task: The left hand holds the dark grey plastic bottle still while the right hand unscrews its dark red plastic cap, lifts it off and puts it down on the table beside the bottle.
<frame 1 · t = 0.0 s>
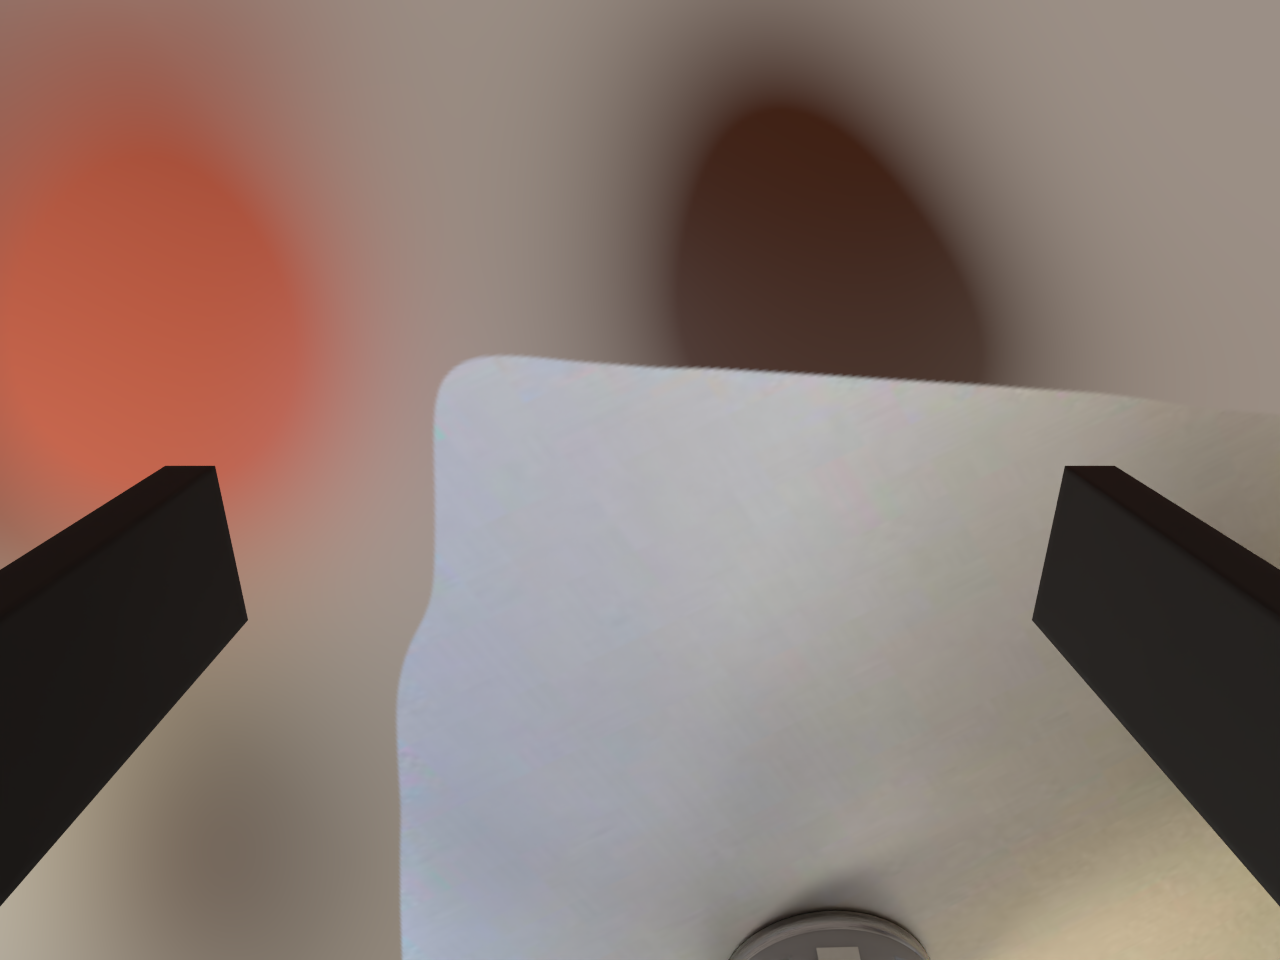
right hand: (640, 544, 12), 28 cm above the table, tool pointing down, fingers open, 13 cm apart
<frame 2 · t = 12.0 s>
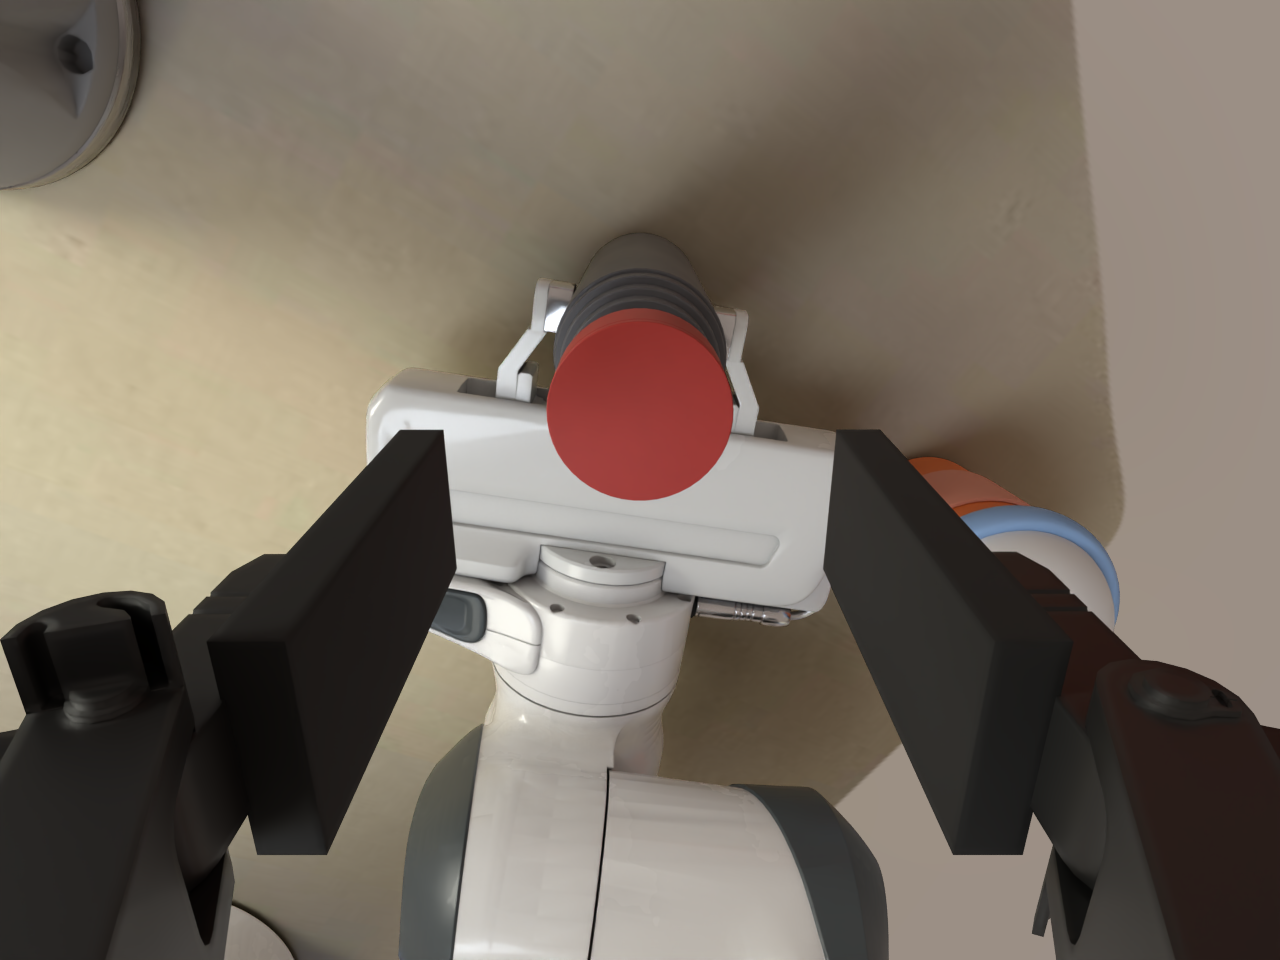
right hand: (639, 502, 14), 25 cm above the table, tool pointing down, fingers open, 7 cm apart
left hand: (642, 295, 31), fingers closed on bottle, 5 cm apart
bottle: (640, 292, 37), on the table, touching left hand
cup with straw: (918, 509, 41), on the table
cap: (639, 411, 19), point 19 cm above the table, screwed on, not yet turned
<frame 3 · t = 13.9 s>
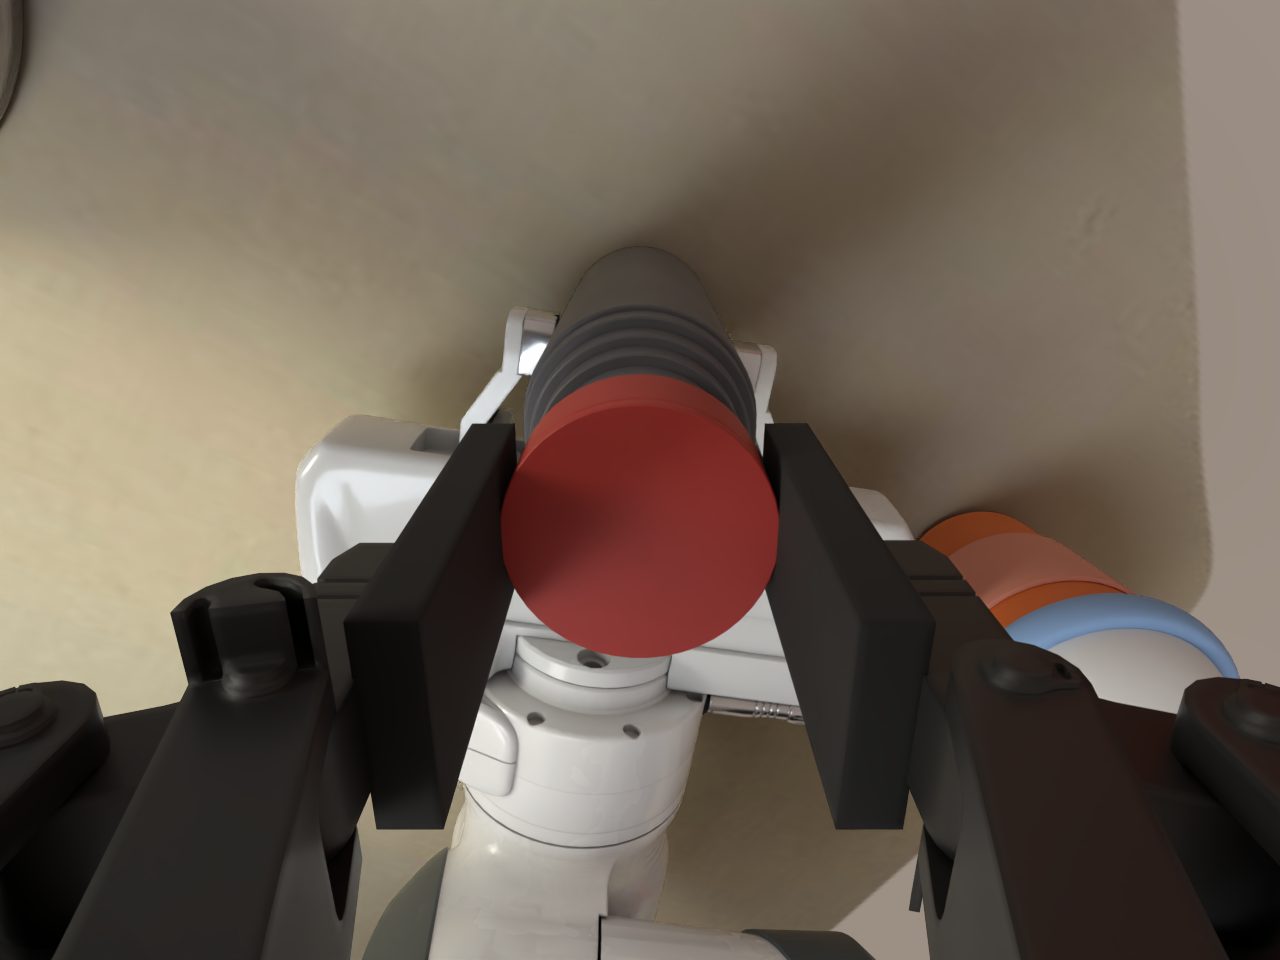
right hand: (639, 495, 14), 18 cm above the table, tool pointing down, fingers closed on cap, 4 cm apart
bottle: (640, 318, 31), on the table, touching left hand
cup with straw: (968, 570, 35), on the table
cap: (639, 531, 13), point 19 cm above the table, screwed on, not yet turned, touching right hand
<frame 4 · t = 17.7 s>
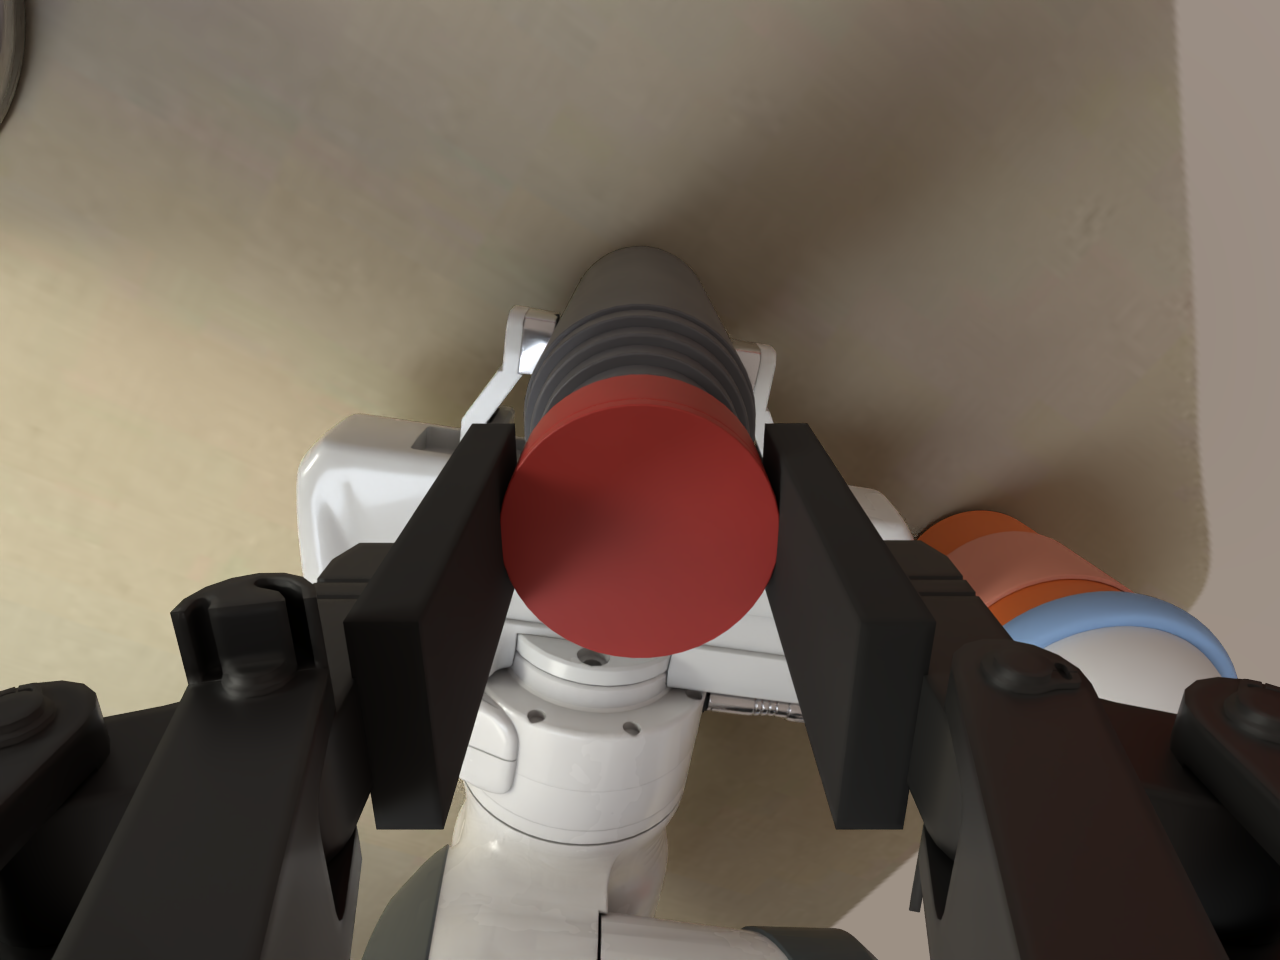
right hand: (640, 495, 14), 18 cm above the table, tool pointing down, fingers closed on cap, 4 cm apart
bottle: (639, 317, 31), on the table, touching left hand
cup with straw: (967, 569, 35), on the table
cap: (639, 531, 13), point 20 cm above the table, turned 136° so far, risen 0.1 cm, still on its thread, touching right hand
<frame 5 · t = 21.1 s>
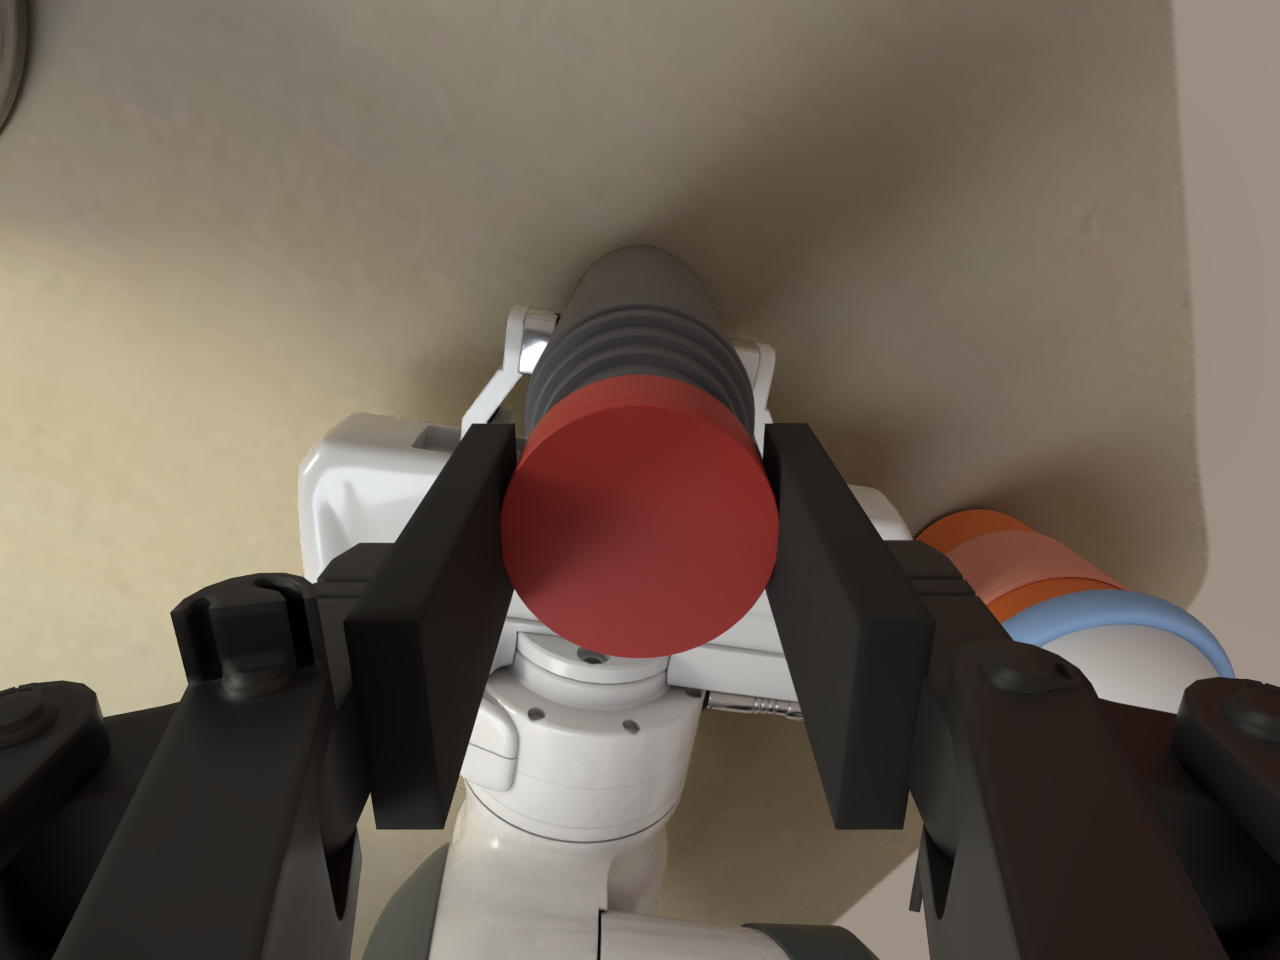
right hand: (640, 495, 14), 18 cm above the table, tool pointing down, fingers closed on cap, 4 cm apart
bottle: (639, 317, 31), on the table, touching left hand
cup with straw: (965, 568, 35), on the table
cap: (639, 532, 13), point 20 cm above the table, turned 271° so far, risen 0.2 cm, still on its thread, touching right hand
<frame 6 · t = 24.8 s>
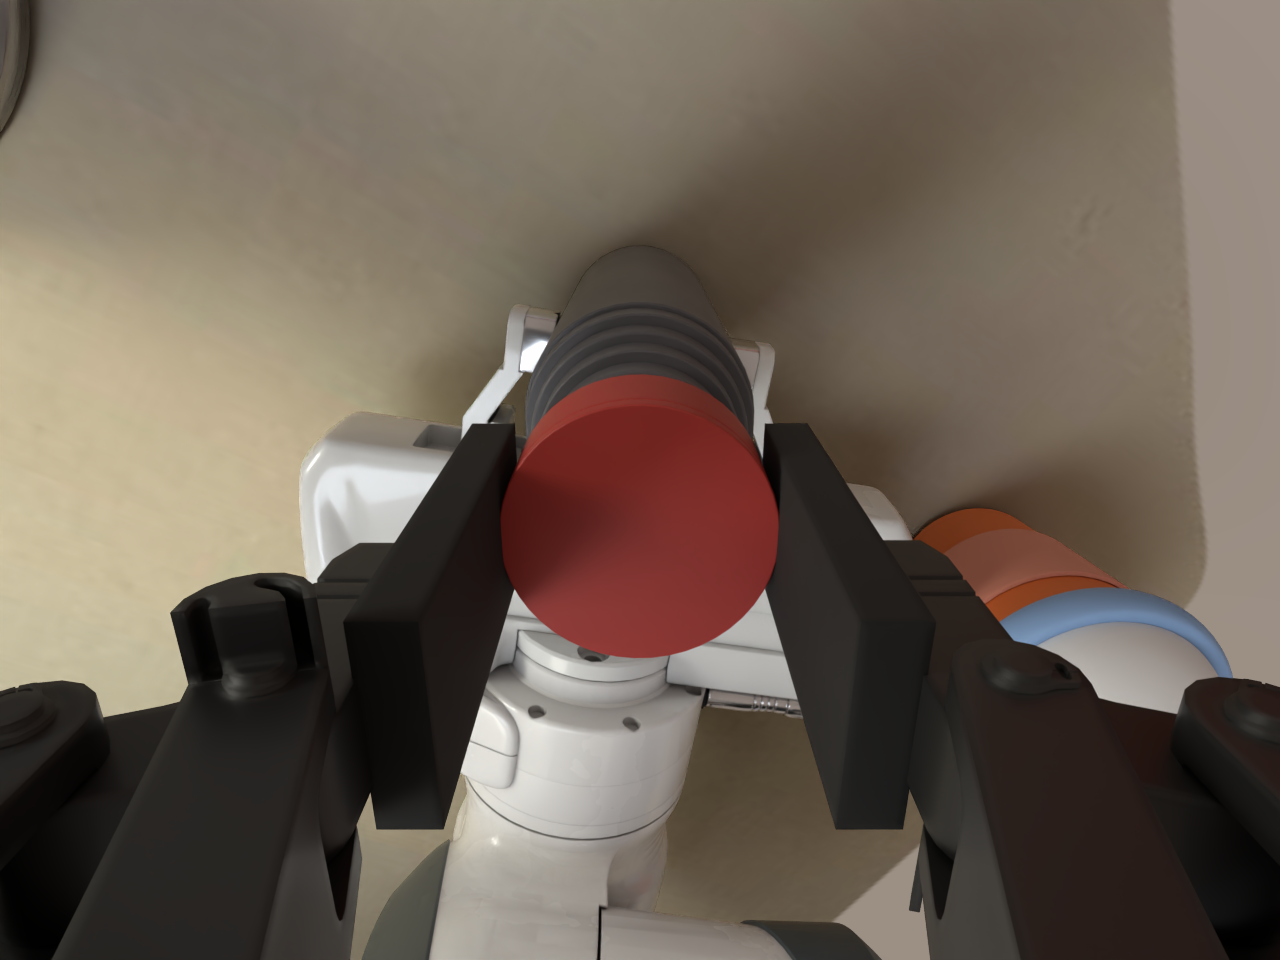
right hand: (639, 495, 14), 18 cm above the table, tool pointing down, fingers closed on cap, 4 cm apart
bottle: (639, 316, 31), on the table, touching left hand
cup with straw: (964, 567, 35), on the table
cap: (639, 532, 13), point 20 cm above the table, turned 407° so far, risen 0.3 cm, still on its thread, touching right hand
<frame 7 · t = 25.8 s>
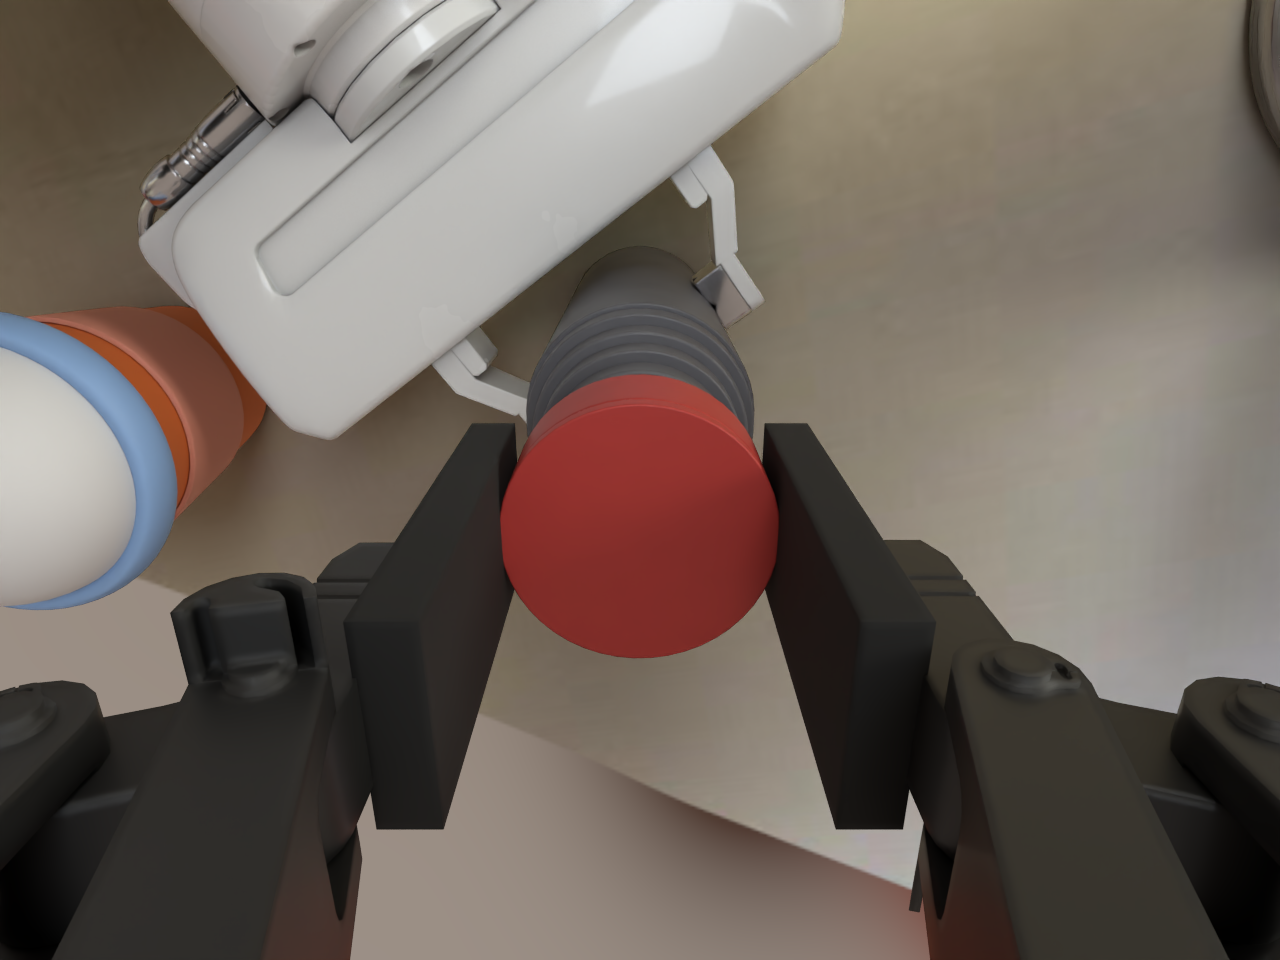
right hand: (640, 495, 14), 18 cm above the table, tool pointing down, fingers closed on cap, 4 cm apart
left hand: (657, 375, 25), fingers closed on bottle, 5 cm apart
bottle: (640, 316, 31), on the table, touching left hand
cup with straw: (195, 379, 32), on the table
cap: (639, 531, 13), point 20 cm above the table, off its thread, touching right hand
when the right hand's fingers open (1 cm above the table, at t = 31.7 s): cap stays where it is, point 2 cm above the table.
when the left hand's fingers open (7 cm above the table, at t = 33.0 s): bottle stays where it is, on the table.
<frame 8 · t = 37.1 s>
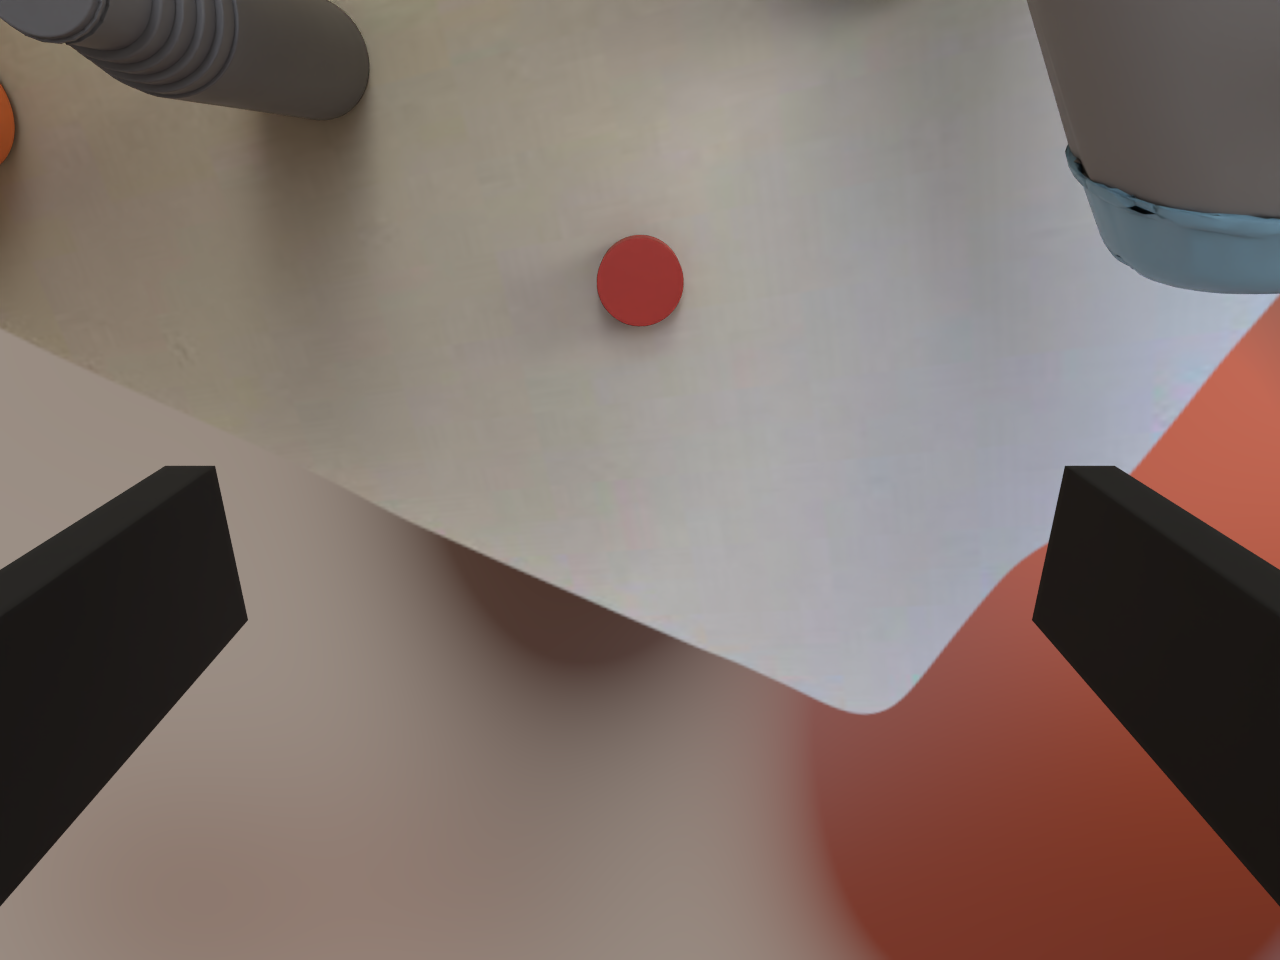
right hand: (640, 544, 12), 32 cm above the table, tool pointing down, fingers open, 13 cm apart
bottle: (313, 59, 39), on the table
cap: (640, 282, 41), point 2 cm above the table, off its thread
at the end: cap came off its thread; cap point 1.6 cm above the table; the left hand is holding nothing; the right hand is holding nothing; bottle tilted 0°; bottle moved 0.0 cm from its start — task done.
